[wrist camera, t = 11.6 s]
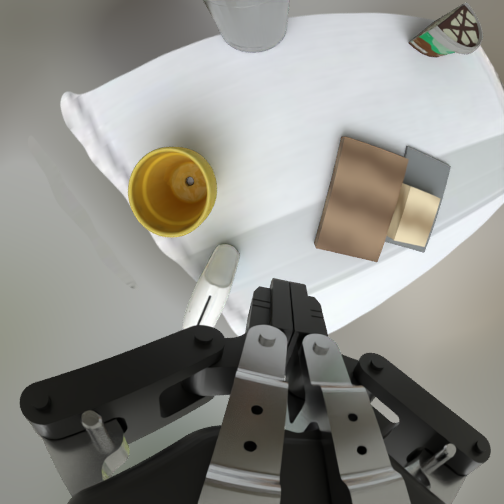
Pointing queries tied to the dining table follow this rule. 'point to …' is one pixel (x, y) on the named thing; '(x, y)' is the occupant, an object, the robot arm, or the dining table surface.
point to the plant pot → (172, 191)
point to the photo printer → (212, 288)
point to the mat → (424, 182)
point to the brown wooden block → (360, 200)
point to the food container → (450, 34)
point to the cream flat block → (413, 216)
